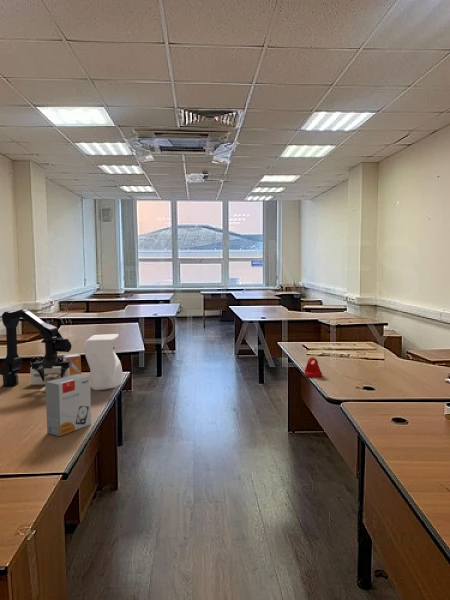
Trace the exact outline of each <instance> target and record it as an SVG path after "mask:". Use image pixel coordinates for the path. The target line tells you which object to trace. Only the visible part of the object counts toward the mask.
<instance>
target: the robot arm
mask: <svg viewBox="0 0 450 600" xmlns="http://www.w3.org/2000/svg"><path fill="white" fill-rule="evenodd" d="M21 318H22V319H23V320H24V321H26V322H27V323H29V325H31V326H33V328H35V329H37V330H38V332H39V335H40V336H41V337H42V338H43V339H42V340H41V342H40V343H42V344H44V352H45V353H44V358H43V359H42V361H41V360H40V361H39V360H38V361H35V362H33V363H32V364H31V367H32V369H35V371H38V373H39V374H40V376H41V378H42V381H43V382H44V369H46V368H49V369H51V368H53V367H62V368H61V378H63V377H64V374H65V372H66V370H67V369H68V368H69V367H71V366H72V362H71V361H63V360H62V362H59V359H58V358H59V357H58V354H59V353H70V351H71V350H72V343H71V341H70V339H69V338H63V336H62V334H61V333H60V332H59V329H58V327H57V326H55V325H52V324H50V323H46V321H43V320H42V319H40V318H39V317H38V316H36V315H35V314H34V313H33V312H31V311H30V310H29V309H28V308H24V309H20V310H16V309H15V310H8V311H4V312H3V313H2V314H1V320H2V321H1V322H2V324H3V326H4V327H5V333H6V334H5V335H6V337H5V339H6V356H5V358H4V359H3V366H2V368H1V369H0V376H2V385H1V387H15V386H16V385H18V384H19V383H20V382H19V375H18V373H19V372H20V369H21V368H22V365H23V363H22V361H23V358H22V356H19V355H18V341H17V339H18V337H17V335H18V334H17V333H18V331H17V327H18V326H19V324H20V319H21Z"/></svg>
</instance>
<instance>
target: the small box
mask: <svg viewBox="0 0 450 600" xmlns="http://www.w3.org/2000/svg"><path fill="white" fill-rule="evenodd" d="M62 357H63V360H62V362H63V361H71V362H72V366H71V367H69V372H70V376H71V375H75V374H81V375H82V363H81V360H82V359H81V355H80V354H79V353H74V354H67V355H63V356H62Z"/></svg>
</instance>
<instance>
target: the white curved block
mask: <svg viewBox="0 0 450 600" xmlns="http://www.w3.org/2000/svg"><path fill="white" fill-rule="evenodd" d="M119 336H120V334H119V333H108V334H107V333H105V334H94V335H92V336H90V337H88V339H86V340H85V342H84V346H83V348H84V355H85V359H86V361H87V365H88V367H89V369H90V370H89V371H90V372H89V373H90V375H89V376H90V386H91V388H92V390H93V391H103V390H109V389H110V390H111V389H114V388H117V387H119V386H121V385H122V384H123V376H122V375H123V369H122V363H121V360H120V358H119V357H118V355H117V353H115V351H114V345H115V342H116V341H117V339H118V337H119Z"/></svg>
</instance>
